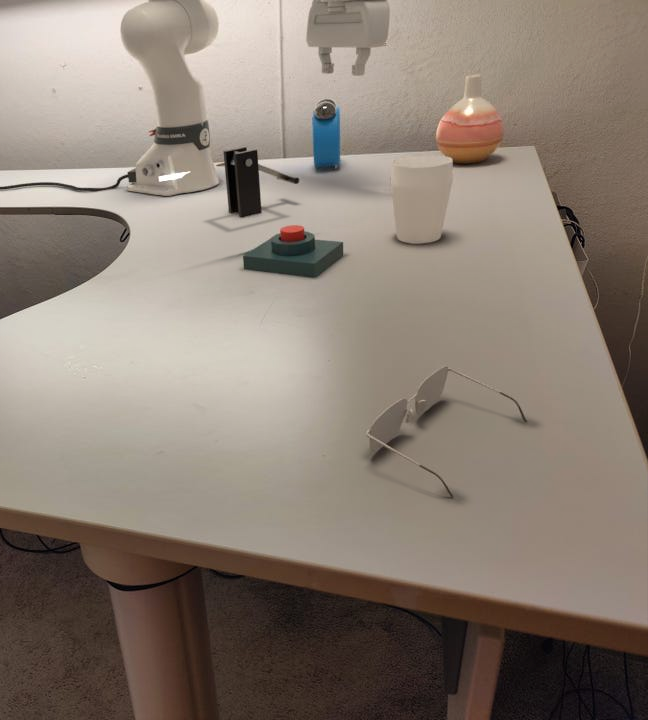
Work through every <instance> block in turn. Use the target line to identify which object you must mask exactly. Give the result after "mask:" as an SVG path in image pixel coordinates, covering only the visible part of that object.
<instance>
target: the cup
mask: <svg viewBox="0 0 648 720" xmlns="http://www.w3.org/2000/svg"><path fill="white" fill-rule="evenodd" d="M453 163H454V162H453V159H452V158H450V157H447V156H445V155H440V154H419V155H409V156H404V157H399V158H397V159H394V160H393V161H392V163H391V175H390V189H391V190H390V191H391V192H390V193H391V199H392V207H393V216H394V223H395V225H394V226H395V231H396V238H397V240H399V241H400V242H403V243H406V244H412V245H413V244H414V245H418V244H419V245H421V244H429V243H433V242H437V241H439V240H440V239H441V237H442V233H443V228H444V223H445V220H446V215H447V210H448V206H449V205H448V204H449V200H450V195H451V190H452V185H453V180H454V177H453V176H454V175H453V174H454V173H453V169H454V168H453Z"/></svg>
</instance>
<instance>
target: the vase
mask: <svg viewBox="0 0 648 720" xmlns="http://www.w3.org/2000/svg"><path fill="white" fill-rule="evenodd" d="M464 81H465V83H464V91H463V97H462V98H461V99H460V100H458V101H457V102H456V103H455V104H453V105H452V106H451V107H450V108H449V109H448V110H447V111H446V112H445V113H444V114H443V116H442V117H441V119H440V121H439V122H438V124H437V129H436V134H435V142H436V146H437V148H438V150H439V151H440V153H441V154H442V156H447V157H450V158H452V159H453V163H454V164H463V165H465V164H466V165H467V164H476V163H481V162H483V161H485V160H486V159H487V158H488V157H489V156H491V155H492V154H493V153H494V152H495V151H496V150H497V149H498V148H499V147H500V145H501V144H502V141H503V138H504V133H505V124H504V120H503V116H502V115H501V113H500V112H499V110H498V109H497V108H496V107H495V106H494V105H493V104H492V103H491V102H489V101H488V100H486V99H485V98H484V97H482V96H481V94H482V93H481V92H482V74H468V75H466V76H465V80H464Z"/></svg>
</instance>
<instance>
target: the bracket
mask: <svg viewBox="0 0 648 720" xmlns="http://www.w3.org/2000/svg"><path fill="white" fill-rule="evenodd" d="M234 151H236V152H239V153H234ZM258 152H259V151H258V149H256V148H255V149H249V150H248V149H247V146H241V147H236V148H232V149H227V150H223V163H224V173H225V184H226V185H225V186H226V198H227V207H228V213H229V214H236V213H238V218H241V219H242V218H246V217H250V216H255V215H259V214H262V199H261V184H260V171H259V167H258V164H259V156H258V155H259V154H258ZM233 153H234V164H235V166H234V165H232V164H230V162H231V159H232V156H233Z"/></svg>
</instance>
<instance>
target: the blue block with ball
mask: <svg viewBox="0 0 648 720" xmlns="http://www.w3.org/2000/svg"><path fill="white" fill-rule="evenodd" d="M314 107H315V108H314V109H313V110H312V117H311V118H312V119H311V121H312V152H313V165H314V167H315V168H327V167H334V169H335V170H337V167H339V166H340V165H341V110H340V107H339V106H337V103H336V101H335V100H334V99H332V98H328V97H324V98H323V99H322V98H321V99H320V100H318V101H317V102H316V104H315V106H314Z"/></svg>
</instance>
